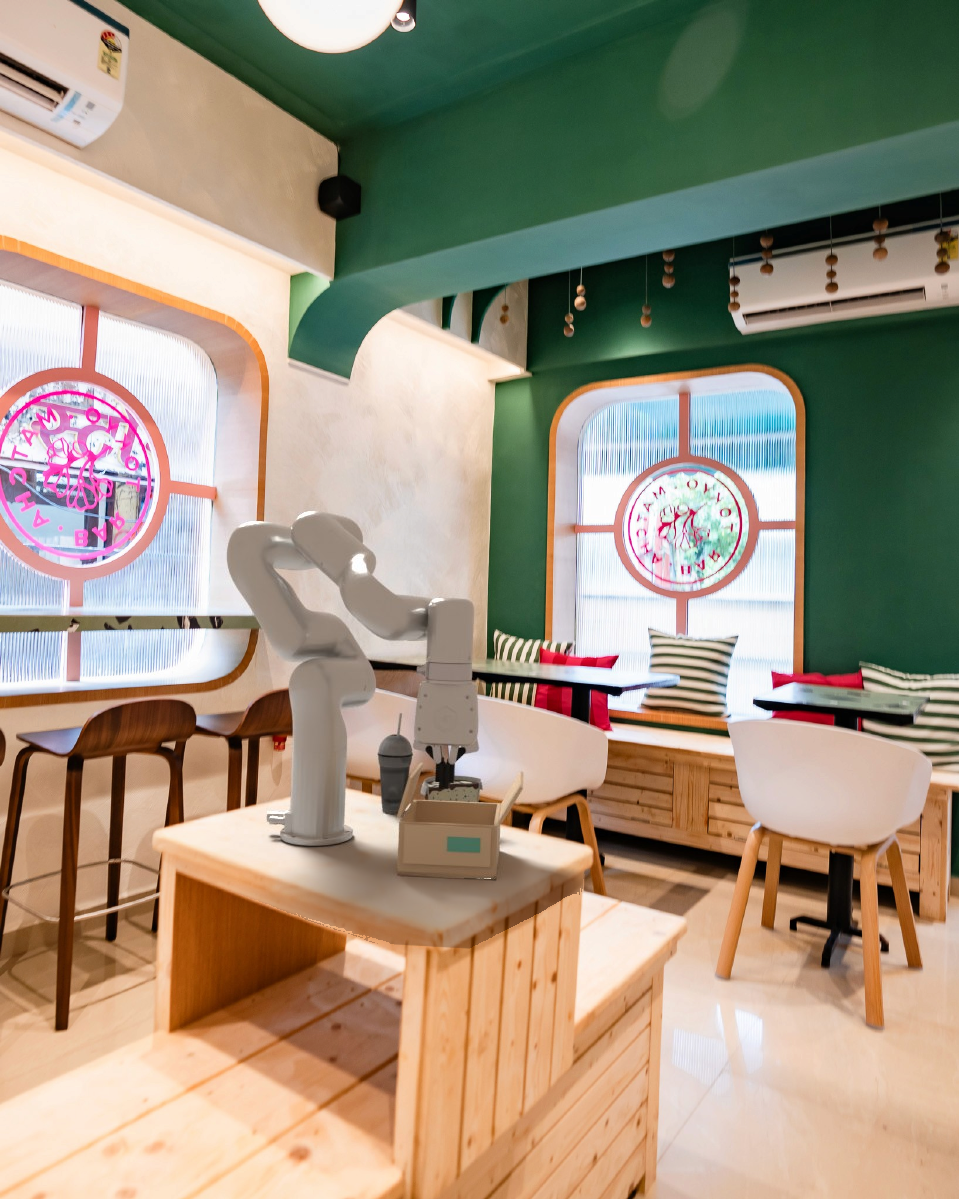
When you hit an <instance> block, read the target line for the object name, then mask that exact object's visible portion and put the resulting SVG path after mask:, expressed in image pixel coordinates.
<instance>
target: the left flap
mask: <svg viewBox="0 0 959 1199" xmlns="http://www.w3.org/2000/svg"><path fill="white" fill-rule="evenodd" d="M423 766H424V763H423V762H420V763H418V765H417V766H416V767H415V769H414V770H412V772H411V774H409V778H408V781H407V785H406V788H405V791H404V795H403V798H402V801H401V804H400V808H399V811H398V814H396V818H398V819H401V818H402V817H403V815H404V814H405V812H406V811H407V809H408V808H409V806H410V805H411V803H412V802H413V800H414V799H413V798H414V795H415V791H416V788H417V785H418V782H419V778H420V775H421V771H422V768H423Z"/></svg>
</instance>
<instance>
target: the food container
mask: <svg viewBox="0 0 959 1199" xmlns="http://www.w3.org/2000/svg"><path fill="white" fill-rule="evenodd" d="M483 789H484V788H483V783H482V779H481V777H480V778H479V777H475V776H467V775H455V776H454V783H450V787H449V789H445V788H442V789H439V782H435V776H429V777H425V779H424V780H423V783H422V784H421V788H420V794H421V795H422V796H424V799H423V800H435V801H458V802H479V800H480V792H481V790H483Z"/></svg>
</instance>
